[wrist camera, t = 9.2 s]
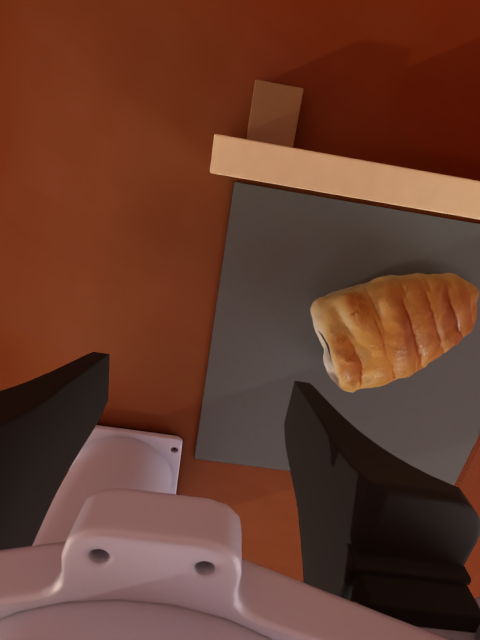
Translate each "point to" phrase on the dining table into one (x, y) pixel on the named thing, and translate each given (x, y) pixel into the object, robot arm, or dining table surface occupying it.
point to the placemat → (303, 343)
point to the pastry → (392, 326)
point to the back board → (329, 162)
